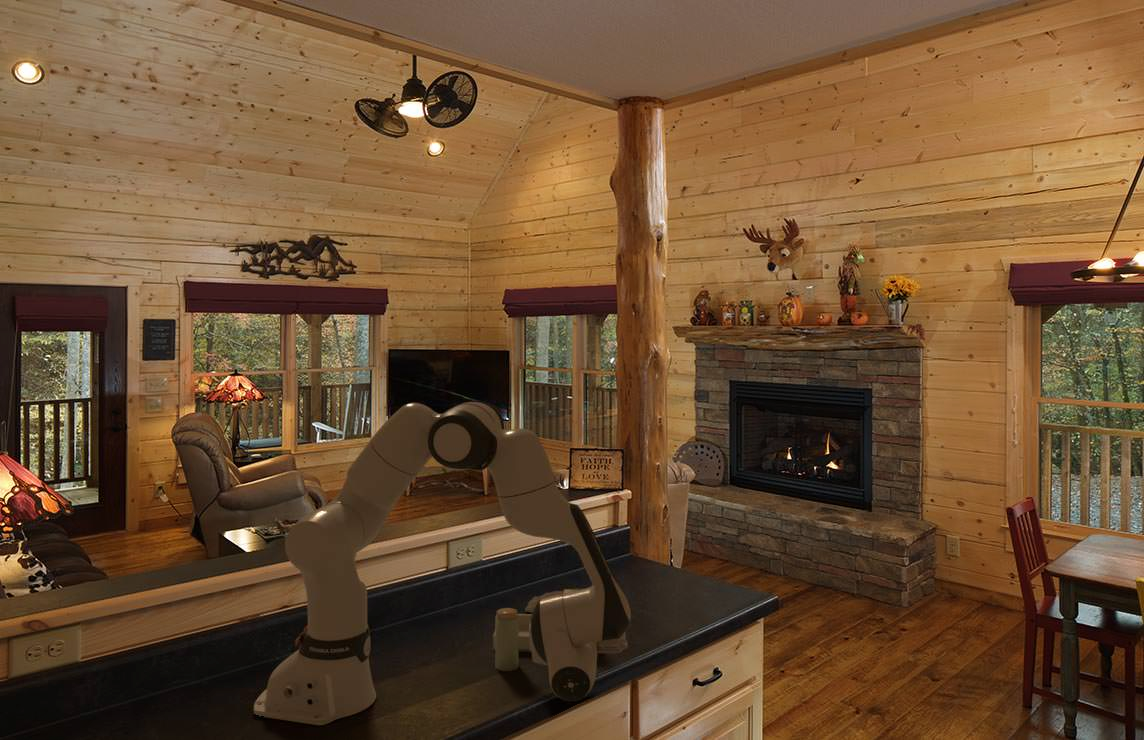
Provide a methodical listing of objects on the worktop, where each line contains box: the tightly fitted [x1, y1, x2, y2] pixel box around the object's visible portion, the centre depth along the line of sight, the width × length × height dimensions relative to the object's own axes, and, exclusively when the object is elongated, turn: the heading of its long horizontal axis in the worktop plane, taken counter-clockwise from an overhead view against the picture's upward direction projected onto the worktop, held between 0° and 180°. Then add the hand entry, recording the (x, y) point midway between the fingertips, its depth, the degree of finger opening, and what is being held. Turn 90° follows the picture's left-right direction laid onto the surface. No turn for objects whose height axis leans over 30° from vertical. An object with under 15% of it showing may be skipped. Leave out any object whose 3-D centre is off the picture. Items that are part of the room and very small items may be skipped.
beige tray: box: [492, 613, 532, 653], centre depth 177 cm, size 24×14×4 cm, turn 87°
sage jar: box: [494, 607, 520, 672], centre depth 163 cm, size 5×5×12 cm
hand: (578, 621), depth 163 cm, fingers open, 8 cm apart
